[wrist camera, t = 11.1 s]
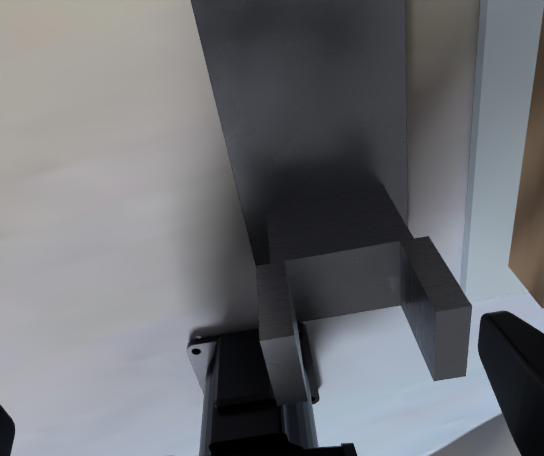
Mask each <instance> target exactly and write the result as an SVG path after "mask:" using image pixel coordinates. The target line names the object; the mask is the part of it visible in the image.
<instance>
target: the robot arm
mask: <svg viewBox="0 0 544 456" xmlns="http://www.w3.org/2000/svg"><path fill="white" fill-rule="evenodd" d="M297 326H298V331H300V332H298V333H299V340H300V348H301V355H302V362H303V369H304V376H305V383H306V390H307V397H308V401H306V402H299V403H293V404H287V405H280V406H277V403H276V400H275V396H274V392H273V389H272V385H271V381H270V377H269V374H268V370H267V366H266V363H265V359H264V355H263V352H262V348H261V344H260V337H259V329H254V330H248V331H242V332H236V333H230V334H224V335H218V336H212V337H206V338H200V339H194V340H191V341H190V342H189V343H188V346H187V354H188V356H189V359H190V361H191V364H192V366H193V369H194V371H195V374H196V376H197V379H198V381H199V384H200V386H201V389H202V391H203V394H204V402H203V414H202V426H201V439H200V451H199V456H357V453H356V450H355V447H354V444H353V443H343V444H341V446H331V447H318V441H317V434H316V428H315V421H314V414H313V408H312V404H315V403H317V402H318V401H319V393H318V387H317V382H316V377H315V371H314V366H313V360H312V355H311V350H310V344H309V339H308V333H307V328H306V326H305V325H304V324H303V323H300V322H298V323H297ZM194 348H198V349H194ZM478 352H479V356H480V359H481V362H482V364H483V366H484V369H485V371H486V374H487V376H488V379H489V381H490V384H491V386H492V389H493V391H494V394H495V396H496V398H497V401H498V403H499V406H500V408H501V411H502V413H503V416H504V418H505V421H506V423H507V425H508V428H509V430H510V433H511V435H512V437H513V439H514V442H515V444H516V446H517V448H518V450H519V451H520V454H521V456H544V333H542V332H541V331H539V330H537V329H536V328H534V327H533V326H531V325H529V324H528V323H526V322H525V321H523V320H521V319H520V318H518V317H517V316H515V315H514V314H512V313H510V312H508V311H498V312H492V313H486V314H484V315H483V316H482V317H481V320H480V329H479V339H478ZM14 436H15V424H14V422H13V420H12V418H11V417H10V416H9V415H8V413H7V412H6V411H5V410H4V408H3V407H2V406H1V405H0V456H10V454H11V450H12V445H13V440H14Z"/></svg>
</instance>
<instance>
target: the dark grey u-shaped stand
mask: <svg viewBox="0 0 544 456" xmlns="http://www.w3.org/2000/svg"><path fill="white" fill-rule="evenodd" d="M191 4H192V8H193V12H194V16H195V20H196V24H197V28H198V32H199V36H200V40H201V44H202V48H203V52H204V57H205V61H206V65H207V69H208V73H209V77H210V81H211V85H212V89H213V93H214V97H215V101H216V105H217V110H218V114H219V118H220V122H221V126H222V130H223V134H224V138H225V142H226V146H227V150H228V154H229V158H230V162H231V167H232V171H233V175H234V179H235V183H236V187H237V191H238V195H239V199H240V203H241V207H242V211H243V215H244V219H245V224H246V228H247V232H248V236H249V240H250V244H251V248H252V252H253V256H254V260H255V264H256V268H257V291H258V314H259V337H260V344H261V348H262V352H263V355H264V359H265V363H266V366H267V370H268V374H269V377H270V381H271V385H272V389H273V392H274V396H275V400H276V403H277V406H280V405H287V404H293V403H299V402H306V401H308V397H307V390H306V383H305V376H304V369H303V362H302V355H301V348H300V340H299V333H298V326H297V323H298V322H303V321H309V320H315V319H321V318H327V317H333V316H339V315H345V314H351V313H357V312H363V311H369V310H375V309H381V308H387V307H393V306H399V305H401V306H402V309H403V311H404V313H405V316H406V318H407V320H408V323H409V325H410V327H411V330H412V332H413V334H414V336H415V339H416V341H417V343H418V346H419V348H420V350H421V353H422V355H423V357H424V360H425V362H426V364H427V367H428V369H429V371H430V374H431V376H432V378H433V380H434V381H438V380H444V379H450V378H457V377H463V376H466V368H467V357H468V345H469V334H470V323H471V312H472V305H471V304H470V302H469V300H468V299H467V297H466V296H465V294H464V292H463V291H462V289H461V288H460V286H459V284H458V283H457V281H456V279H455V278H454V276H453V275H452V273H451V271H450V270H449V268H448V267H447V265H446V263H445V262H444V260H443V259H442V257H441V255H440V254H439V252H438V251H437V249H436V247H435V246H434V244H433V243H432V241H431V239H430V238H429V236H427V237H421V238H415V239H414V238H413V236H412V235H411V233H410V231H409V229H408V201H407V123H406V44H405V0H191Z"/></svg>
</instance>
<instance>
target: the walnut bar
mask: <svg viewBox="0 0 544 456" xmlns="http://www.w3.org/2000/svg"><path fill="white" fill-rule="evenodd" d="M508 267H509V268H510V269H511V270H512V272H513V273H514V274H515V275H516V277H517V278H518V279H519V280H520V282H521V283H522V284H523V285H524V286H525V288H526V289H527V290H528V291H529V293H530V294H531V295H532V296H533V298H534V299H535V300H536V301H537V303H538V304H539V305H540V306H541V307H542V308H544V9H543V17H542V24H541V31H540V38H539V46H538V53H537V60H536V67H535V74H534V82H533V89H532V96H531V103H530V111H529V118H528V125H527V132H526V140H525V147H524V154H523V161H522V168H521V176H520V183H519V190H518V197H517V205H516V212H515V219H514V226H513V233H512V241H511V248H510V255H509V262H508Z"/></svg>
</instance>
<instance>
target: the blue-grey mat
mask: <svg viewBox="0 0 544 456" xmlns="http://www.w3.org/2000/svg"><path fill="white" fill-rule="evenodd" d="M543 9H544V0H480V13H479V28H478V42H477V57H476V71H475V86H474V100H473V114H472V129H471V143H470V158H469V172H468V187H467V201H466V215H465V230H464V244H463V259H462V273H461V289H462V291H463V292H464V294H465V296H466V297H467V299H468V300H469V302H470V303H471V302H477V301H483V300H489V299H495V298H501V297H507V296H513V295H519V294H525V293H529V291H528V290H527V289H526V288H525V286H524V285H523V284H522V283H521V282H520V280H519V279H518V278H517V277H516V275H515V274H514V273H513V272H512V270H511V269H510V268H509V267H508V262H509V255H510V248H511V241H512V233H513V226H514V219H515V212H516V205H517V197H518V190H519V183H520V176H521V168H522V161H523V154H524V147H525V140H526V132H527V125H528V118H529V111H530V103H531V96H532V89H533V82H534V74H535V67H536V60H537V53H538V46H539V38H540V31H541V24H542V17H543Z"/></svg>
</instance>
